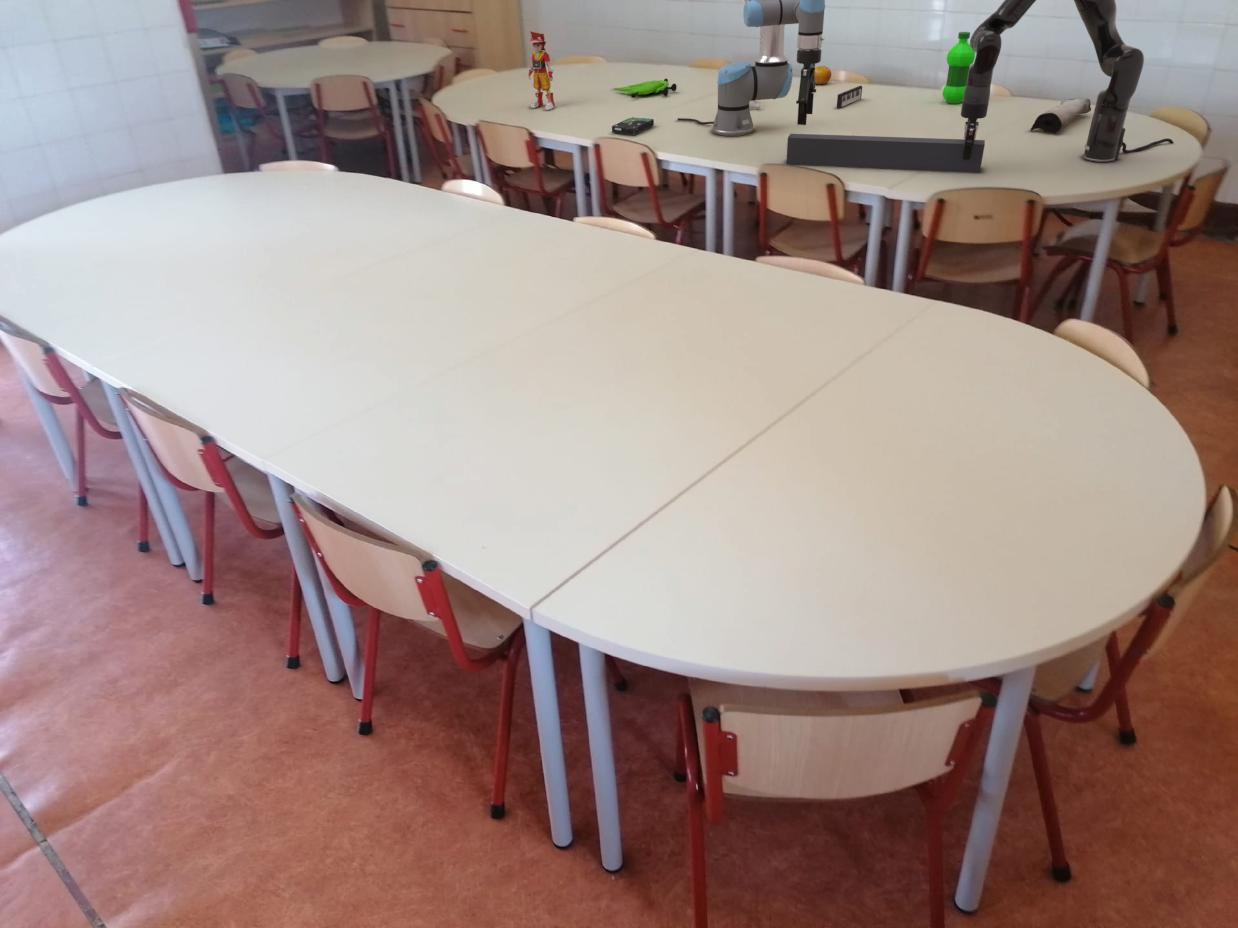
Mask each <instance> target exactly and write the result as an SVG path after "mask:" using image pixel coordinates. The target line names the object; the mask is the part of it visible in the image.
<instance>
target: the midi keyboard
mask: <svg viewBox="0 0 1238 928" xmlns="http://www.w3.org/2000/svg"><path fill="white" fill-rule="evenodd" d="M862 93H863V85H858V86H856V87H855V86H854V87H853V88H851V89H847V90H846V91H843V92H840V93H838V94H837V98H836V108H837V109H841V108H843V107H844V106H846V105H849V104H852V103H855V102H856V101H859V100H862Z"/></svg>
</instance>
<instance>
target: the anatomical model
mask: <svg viewBox="0 0 1238 928" xmlns="http://www.w3.org/2000/svg"><path fill="white" fill-rule="evenodd" d="M756 102H757V100H755V101H750V102H749V110H750V109H760V108H761V107H762V104H758V103H756Z"/></svg>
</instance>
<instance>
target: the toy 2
mask: <svg viewBox="0 0 1238 928" xmlns="http://www.w3.org/2000/svg"><path fill="white" fill-rule="evenodd" d="M669 85H670V83H669V79H668V78H664V79H663V80H649V81H644V82H640V83H634V84H629V85H627V86H621V87H613V88H612V89H613V90H616V91H619V92H623V93H627V94H628V93H629V94H631V95H630V96H631V98H632V99H634V98H636V96H637V95H650V94H652V93H654V94H658V93H662V95H663V96H665V97H667V96H668V95H669V90H671V91H672V92H676V91H677V84H676V83H672V84H671V86H669Z"/></svg>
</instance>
